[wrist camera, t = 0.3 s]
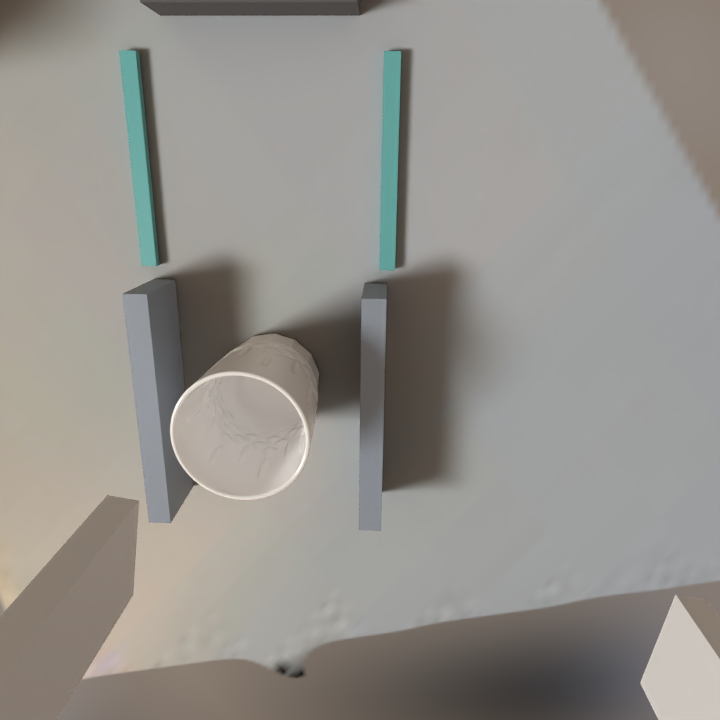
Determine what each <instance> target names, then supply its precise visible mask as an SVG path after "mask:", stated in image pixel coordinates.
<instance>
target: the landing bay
mask: <svg viewBox="0 0 720 720" xmlns="http://www.w3.org/2000/svg"><path fill="white" fill-rule="evenodd" d="M119 53H120V63H121V73H122V82H123V92H124V101H125V111H126V120H127V130H128V140H129V149H130V159H131V168H132V178H133V188H134V197H135V207H136V216H137V226H138V235H139V245H140V255H141V264H142V266H158V265H160V263H159V253H158V242H157V232H156V221H155V211H154V200H153V190H152V179H151V169H150V158H149V148H148V137H147V126H146V116H145V105H144V95H143V84H142V74H141V63H140V53H139V52H137V51H119ZM400 75H401V51H384V89H383V137H382V186H381V235H380V270H395V251H396V216H397V180H398V145H399V110H400Z"/></svg>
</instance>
